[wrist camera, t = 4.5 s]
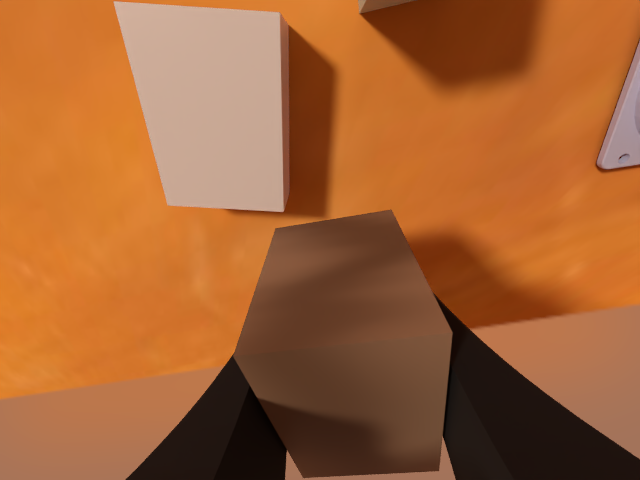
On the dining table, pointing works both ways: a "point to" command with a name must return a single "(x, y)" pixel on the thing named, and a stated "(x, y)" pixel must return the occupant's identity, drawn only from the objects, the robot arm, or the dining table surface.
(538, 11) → the dining table surface
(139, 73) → the pale grey brick
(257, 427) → the robot arm
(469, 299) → the dining table surface
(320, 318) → the walnut brick
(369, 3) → the sage brick
